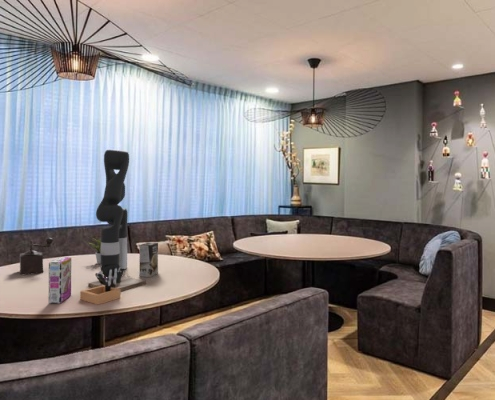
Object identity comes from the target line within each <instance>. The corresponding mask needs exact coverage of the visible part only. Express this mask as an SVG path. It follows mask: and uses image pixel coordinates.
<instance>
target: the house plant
mask: <svg viewBox="0 0 495 400" xmlns="http://www.w3.org/2000/svg"><path fill="white" fill-rule="evenodd" d="M95 237H96V238H93V237H92V240H94V241H95V242H96V243H93V242H88V244H89V245H91V246H92V247H93V248H95V249H96V250H97V251H96V252H95V258H96V263H97V264H98V265H101V239H99V238H98V237H97V236H95Z"/></svg>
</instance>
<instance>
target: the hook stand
mask: <svg viewBox="0 0 495 400" xmlns="http://www.w3.org/2000/svg"><path fill="white" fill-rule="evenodd" d="M120 268H121V267H120ZM110 284H111V283H110ZM146 284H147V280H144V279H141V278H135V277H130V276H128V275H127V276H126V275H122V277H121V279H120V281H119V282H117V283H116V288H117V289H120V292H122V291H123V292H124V291H126V290H129V289H134V288H135V287H139V286H143V285H146ZM87 285H88V286H87V287H90V288H94V287H98V286H102V284H101V283H100V282H99V280H95V281H91V282H88V283H87Z"/></svg>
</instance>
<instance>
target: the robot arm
mask: <svg viewBox="0 0 495 400" xmlns="http://www.w3.org/2000/svg"><path fill="white" fill-rule="evenodd" d="M103 164H104V165H103V166H104V173H105V186H104V187H105V188H104V193H103V197H102V199H101V201H100V203H99V205H98V206H97V207H96V212H95V216H96V219H97V220H98V221H99V222H101V223H107V224H108V225H110V226H108V227H107V226H106V227H103V228H102V229H101V231H100V242H101V264H100V266H101V267H100V270H99V272H95V277H96V278H97V281H99V282H100V283H101V284H102V285H105V292H108V291H111V287H113V288H116V283H117V282H119V281H120V279H121V277H122V276H123V274H124V272H125V270H127V269H128V216H129V215H128V210H127V208H124V207H122V205H120V203H121V202H122V201H123V200H124V198H125V196H126V184H125V179H126V178H127V177H126V176H127V172H128V169H129V166H130V165H129V164H130V154H129V152H128V151H126V150H121V149H120V150H119V149H107V150H105V152H104V155H103ZM115 170H116V171H118V172H117V173H116V172H115ZM120 267H121V268H120ZM110 283H111V284H110Z"/></svg>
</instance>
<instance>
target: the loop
mask: <svg viewBox="0 0 495 400" xmlns="http://www.w3.org/2000/svg"><path fill="white" fill-rule="evenodd" d="M79 294H80V295H79V299H80V300H81V301H84V302H86V303H87V302H88V303H90V304H94V305H101V304H104V303H107V302H110V301H113V300H117V299H120V298H121V291H120V289H117V288H113V287H111V291H108V292H105V285H102V286H98V287H94V288H93V287H90V288H87V289H83V290H80V291H79Z"/></svg>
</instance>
